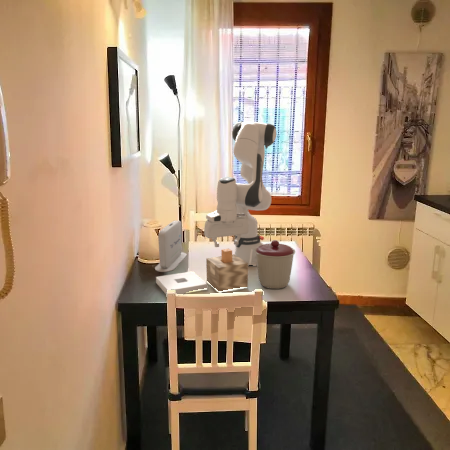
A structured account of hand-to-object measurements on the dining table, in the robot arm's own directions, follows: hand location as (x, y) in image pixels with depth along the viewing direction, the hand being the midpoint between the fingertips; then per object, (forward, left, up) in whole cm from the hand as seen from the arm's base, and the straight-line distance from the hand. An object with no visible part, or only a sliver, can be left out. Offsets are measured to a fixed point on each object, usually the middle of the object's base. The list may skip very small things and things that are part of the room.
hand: (226, 245), depth 204 cm
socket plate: (+19, -8, -19) cm, 28 cm away
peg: (0, 0, -12) cm, 12 cm away
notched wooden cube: (0, 0, -19) cm, 19 cm away
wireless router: (+12, -43, -20) cm, 49 cm away
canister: (-20, +8, -19) cm, 29 cm away
